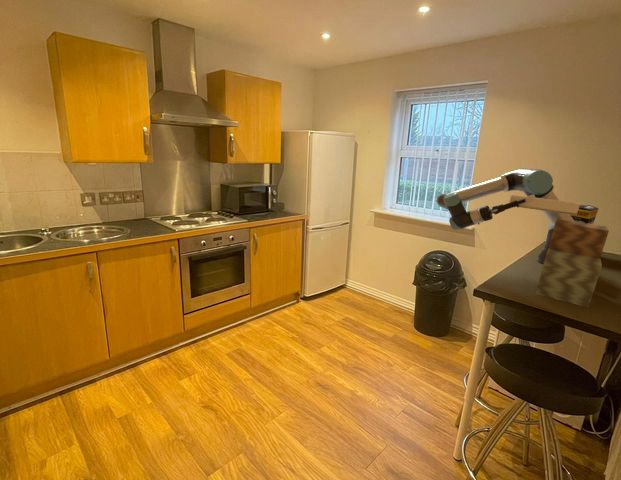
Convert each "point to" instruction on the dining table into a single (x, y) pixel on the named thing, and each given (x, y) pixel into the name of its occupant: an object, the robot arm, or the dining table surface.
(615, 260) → the dining table surface
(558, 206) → the white long bar
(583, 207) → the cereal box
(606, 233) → the two-tone wood block
